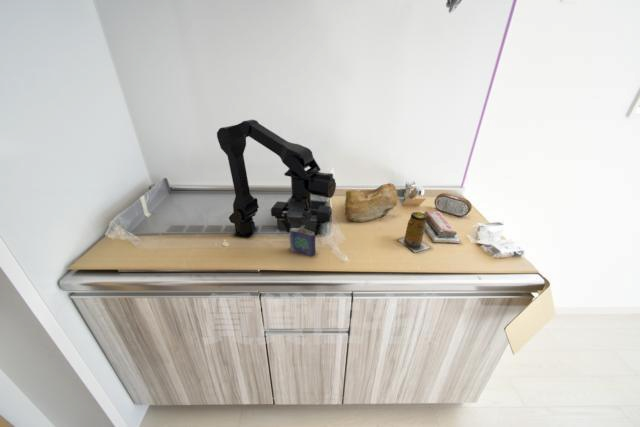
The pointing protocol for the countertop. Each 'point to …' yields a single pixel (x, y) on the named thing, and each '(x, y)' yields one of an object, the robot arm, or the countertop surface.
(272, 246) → the countertop surface
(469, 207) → the tin
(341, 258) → the countertop surface
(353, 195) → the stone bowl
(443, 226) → the packaged product
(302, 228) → the flask
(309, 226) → the bin
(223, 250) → the countertop surface
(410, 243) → the condiment
